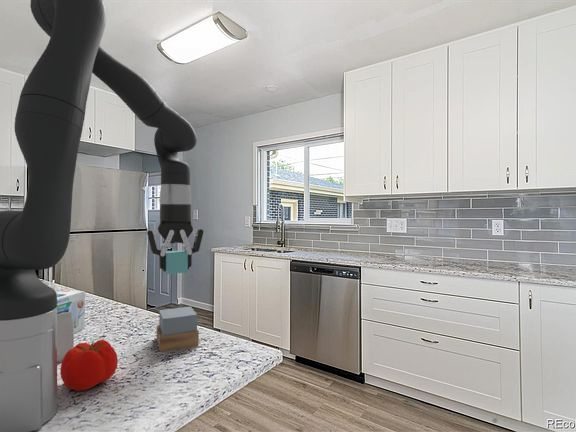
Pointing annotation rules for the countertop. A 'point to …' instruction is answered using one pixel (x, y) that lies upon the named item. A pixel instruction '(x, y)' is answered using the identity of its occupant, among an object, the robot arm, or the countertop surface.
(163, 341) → the base block
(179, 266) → the teal cube
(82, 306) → the light bulb box
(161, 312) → the top block
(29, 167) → the robot arm
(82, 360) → the tomato
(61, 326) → the white cardboard box
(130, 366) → the countertop surface
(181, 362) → the countertop surface
